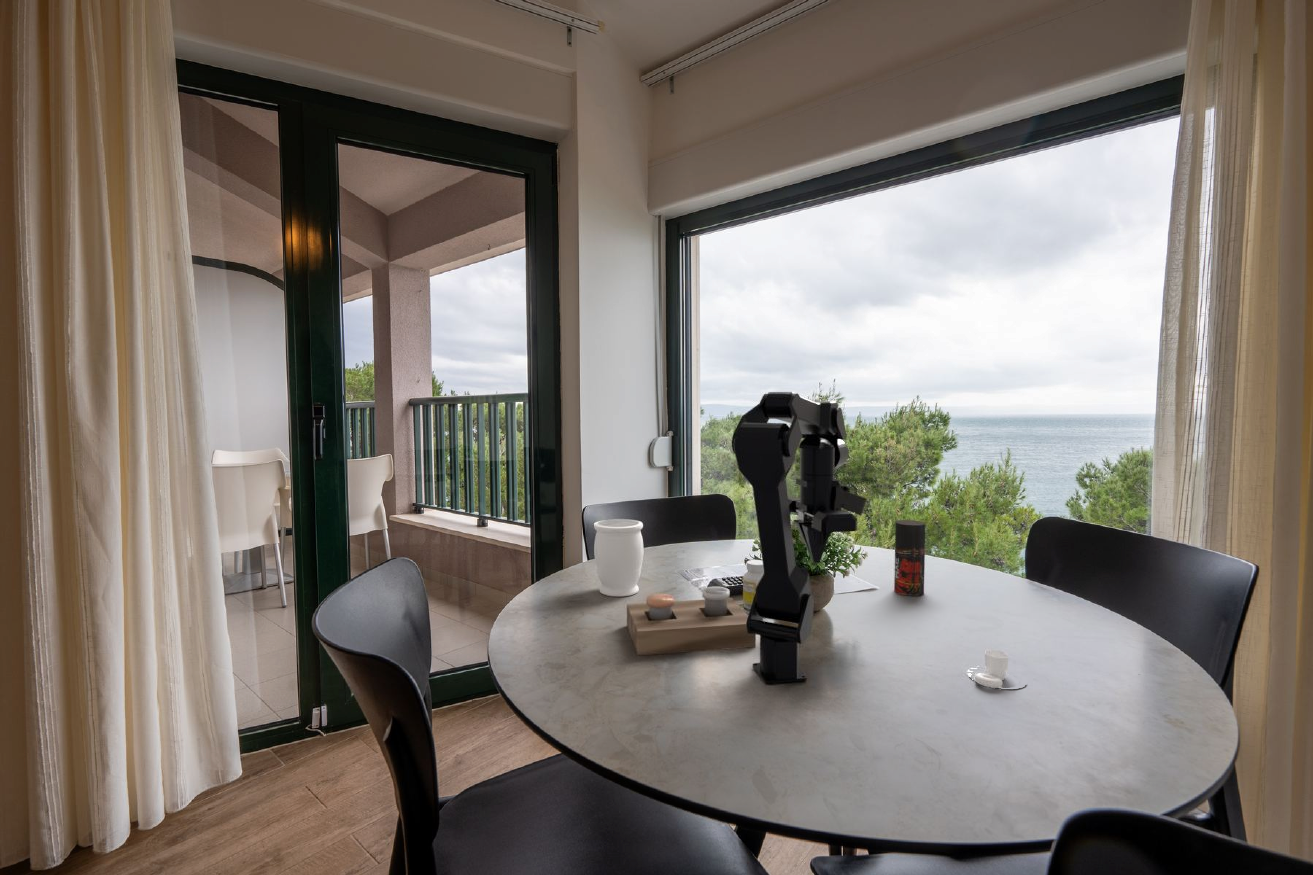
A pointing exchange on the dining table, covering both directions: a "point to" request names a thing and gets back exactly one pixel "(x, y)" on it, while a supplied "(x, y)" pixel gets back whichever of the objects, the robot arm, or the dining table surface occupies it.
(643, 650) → the wooden socket block
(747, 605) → the supplement bottle
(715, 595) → the plug
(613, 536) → the jar
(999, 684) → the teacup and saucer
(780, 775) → the dining table surface
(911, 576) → the deodorant
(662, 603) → the plug
